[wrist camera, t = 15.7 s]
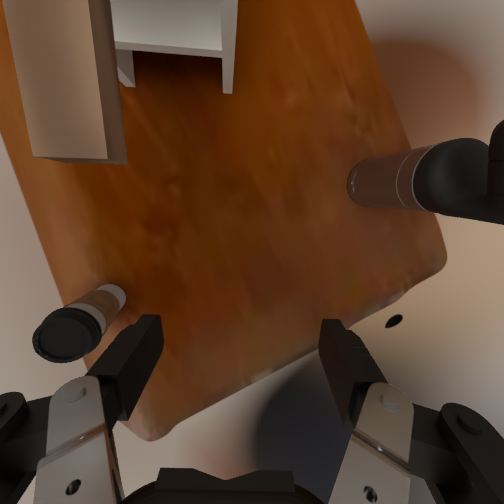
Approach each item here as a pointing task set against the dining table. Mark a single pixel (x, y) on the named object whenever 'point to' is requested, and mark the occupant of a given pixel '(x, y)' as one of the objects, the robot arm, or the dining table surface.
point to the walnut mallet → (68, 79)
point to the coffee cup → (78, 325)
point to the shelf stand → (175, 32)
